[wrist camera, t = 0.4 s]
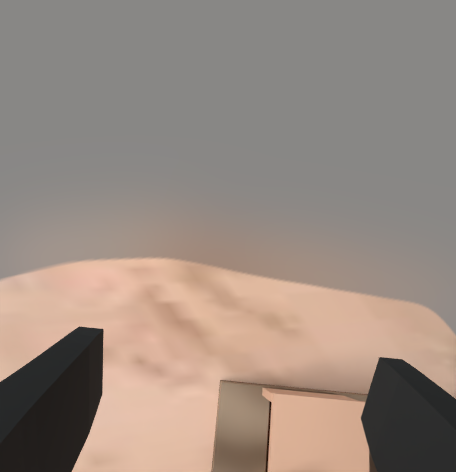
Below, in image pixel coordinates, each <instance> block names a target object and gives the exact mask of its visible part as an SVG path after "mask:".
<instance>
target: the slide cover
mask: <svg viewBox="0 0 456 472" xmlns="http://www.w3.org/2000/svg"><path fill="white" fill-rule="evenodd" d="M262 396H264V397H265V398H266V399H268V400H269V401H270V402H271V403H272V404H271V421H270V438H269V456H268V472H369V447H368V443H367V440H366V436H365V432H364V429H363V425H362V421H361V415H362V412H363V409H364V406H365V403H366V402H365V401H358V400H355V399H352V398H349V397H346V396H342V395H332V394H322V393H311V392H301V391H291V390H281V389H270V388H263V389H262Z"/></svg>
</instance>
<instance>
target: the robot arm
mask: <svg viewBox="0 0 456 472" xmlns="http://www.w3.org/2000/svg"><path fill="white" fill-rule="evenodd" d="M102 379H103V329H97V328H87V327H78V328H77V329H75V330H74V331H72V332H71V333H69V334H68V335H67V336H65V337H64V338H62V339H61V340H60V341H58V342H57V343H56V344H54V345H53V346H51V347H50V348H49V349H47V350H46V351H45V352H43V353H42V354H40V355H39V356H38V357H36V358H35V359H33V360H32V361H31V362H29V363H28V364H26V365H25V366H23V367H22V368H20V369H19V370H18V371H16V372H15V373H13V374H12V375H10V376H9V377H7V378H6V379H4V380H3V381H1V382H0V472H72V470H73V467H74V465H75V463H76V461H77V459H78V457H79V454H80V452H81V450H82V448H83V446H84V444H85V441H86V439H87V437H88V435H89V432H90V429H91V426H92V423H93V421H94V418H95V415H96V412H97V409H98V405H99V402H100V399H101V396H102ZM361 421H362V425H363V429H364V432H365V436H366V440H367V443H368V447H369V450H370V453H371V457H372V459H373V462H374V464H375V467H376V469H377V472H456V399H455V398H454V397H452V396H451V395H450V394H448V393H447V392H446V391H444V390H443V389H442V388H441V387H439V386H438V385H437V384H435V383H434V382H433V381H431V380H430V379H429V378H428V377H426V376H425V375H424V374H422V373H421V372H420V371H418V370H417V369H415V368H414V367H413V366H411V365H410V364H408V363H407V362H405V361H404V360H402V359H392V358H382V357H380V358H379V361H378V364H377V367H376V370H375V374H374V377H373V380H372V383H371V386H370V390H369V393H368V396H367V399H366V403H365V406H364V409H363V412H362V415H361Z"/></svg>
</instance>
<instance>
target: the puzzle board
mask: <svg viewBox="0 0 456 472" xmlns="http://www.w3.org/2000/svg"><path fill="white" fill-rule="evenodd" d="M263 388H270V389H281V390H291V391H301V392H311V393H322V394H332V395H342V396H346V397H349V398H352V399H355V400H358V401H365V402H366V399H367V396H368V395H366V394H356V393H346V392H336V391H326V390H315V389H305V388H295V387H285V386H274V385H264V384H254V383H244V382H234V381H223V380H220V389H219V399H218V409H217V420H216V430H215V440H214V451H213V461H212V471H211V472H265V470H266V453H267V436H268V419H269V402H270V401H269V400H268V399H266V398H265V397H264V396H262V389H263ZM369 472H377V469H376V467H375V464H374V462H373V459H372V457H371V453H370V450H369Z"/></svg>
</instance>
